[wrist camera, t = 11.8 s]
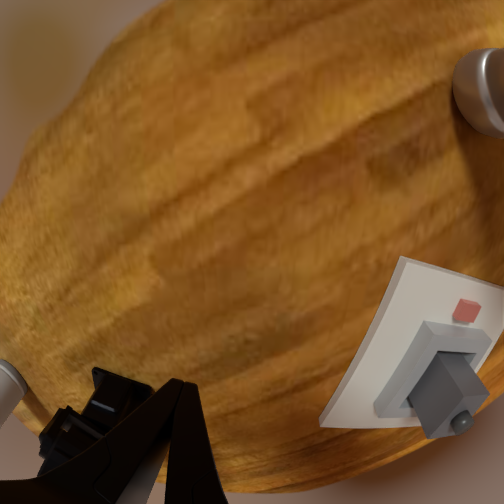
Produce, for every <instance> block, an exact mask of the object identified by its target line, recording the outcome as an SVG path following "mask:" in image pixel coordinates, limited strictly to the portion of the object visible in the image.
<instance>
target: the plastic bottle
mask: <svg viewBox="0 0 504 504" xmlns="http://www.w3.org/2000/svg"><path fill="white" fill-rule="evenodd" d="M452 86H453V94H454V98H455V101H456V104H457V106H458V109H459V110H460V112H461V114H462V116H463V117H464V118H465V119H466V121H467V122H468V123H469V124H470V125H471V126H472V127H473V128H474V129H475V130H476V131H478V132H480V133H482V134H484V135H488V136H491V137H494V138H499V139H503V138H504V48H500V49H499V48H485V49H477V50H473V51H471V52H469V53H468V54H466V55H465V56H464V57H462V58H461V59H460V60H459V61H458V63H457V64H456V66H455V69H454V73H453V81H452Z"/></svg>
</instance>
